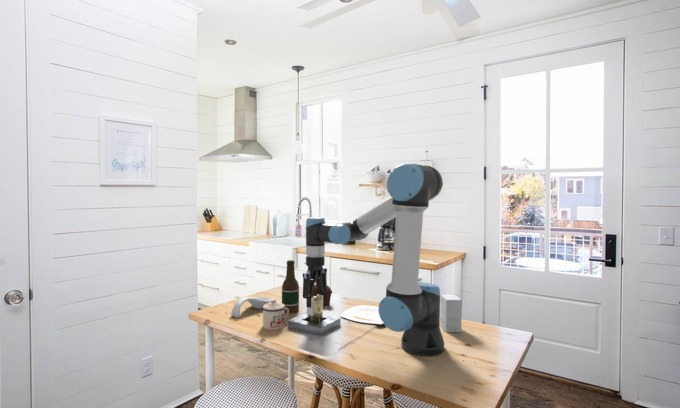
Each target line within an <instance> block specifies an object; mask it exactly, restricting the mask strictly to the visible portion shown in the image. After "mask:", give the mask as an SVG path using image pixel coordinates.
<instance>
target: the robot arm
mask: <svg viewBox="0 0 680 408" xmlns="http://www.w3.org/2000/svg"><path fill="white" fill-rule="evenodd" d="M443 184H444V183H443V177H442V175H441V173H440V172H439V170H437V169H436V167H433V166H431V165H423V164H416V163H403V164H400V165H397V166H395V167H393V170H391V171H390V172H389V175H388V177H387V181H386V189H387V192H388V194H389V196H390V197H388V198H387V199H385V200H384V201H382V202H381V203H379V204H377V205H376V206H374V207H372V208H371V209H369V210H368V211H367V212H365V213H363V214H362V215H360V216H358V217H357V218H356V219H354V220H353V221H350V222H349V221H348V222H337V223H329V222H328V223H326V221H325V218H324V217H322V216H321V217H320V216H319V217H317V216H313V217H307V218H306V221H305V255H306V257H305V265H306V266H307V272H303V273H302V283H303V284H302V298H303V299H306V312H307V315H311V316H313V299H312V296H313V290H314V285H317V290H318V294H317V296H318V297H321V298H323V295H326V293H325V292H327V286H328V284H327V283H328V282H327V272H328V268H326V267H324V265H325V261H326V260H325V258H326V257H325V254H326V250H325V249H326V248H325V243H328V244H335V245H345V244H347V243H348V242H351V241H361V240H364V239H366V238H367V237H369V234H370V233H371V232H373V231H375V230H376V229H379V228H380V227H381V226H383V225H385V224H386V223H388V222H390V221H391V220H394V219H395V224H394V227H395V228H394V239H393V240H394V241H393V254H392V255H393V256H392V267H391V268H392V271H391V281H390V282H389V283H388V284H387V285H386V289H385V297H383V298H382V299H381V300H380V301H379V304H378V307H379V308H378V311H379V316H380V318H381V320H382V321H383V322H384V324H383V325H384V326H385V327H386V328H388V329H389V330H391V331H393V332H396V333H401V332H403V334H402V337H401V339H400V345H401V348H402V349H403V350H404V351H406V352H407V353H409V354H412V355H418V356H425V357H426V356H430V357H431V356H437V355H439V354H442V353H444V351H445V340H444V337H443V334H442V330H441V326H440V308H441V295H442V294H441V289H440V287H439V285H436V284H434V283H430V282H424V281H423V282H422V281H419V275H420V274H419V273H420V258H421V246H422V232H423V230H422V229H423V219H424V212H425V211H426V210H427V209H429V205H430V204H429V203H430V202H429V201H431V200H433V199H435V198H436V197H437V196H438V195H440V193H441V191H442V188H443Z"/></svg>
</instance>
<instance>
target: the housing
mask: <svg viewBox="0 0 680 408" xmlns="http://www.w3.org/2000/svg"><path fill="white" fill-rule="evenodd" d="M340 326H341V317H337V316H334V315H333V316H332V315H329V314H323V321H321V322H319V323H312V322H308V315H307V311H306V312H303V313H302V314H299V315H297V316H295V317H293V318H291V319H288V320H287V328H288V329H292V330H295V331H298V332H303V333H305V334H310V335H315V336H318V337H322V336H324V335H325V334H328V333H329V332H331V331H333V330H335V329H336V328H338V327H340Z"/></svg>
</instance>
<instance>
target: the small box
mask: <svg viewBox="0 0 680 408" xmlns="http://www.w3.org/2000/svg"><path fill="white" fill-rule="evenodd" d="M440 295H441V297H440V328H442V329H443V330H444V332H445V333H462V315H463V314H462V308H463V307H462V301H463V300H462V299H461V298H460V297H459V296H457V295H456V294H440Z"/></svg>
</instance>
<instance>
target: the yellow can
mask: <svg viewBox="0 0 680 408" xmlns="http://www.w3.org/2000/svg"><path fill="white" fill-rule="evenodd" d="M312 299H313V316H311V315H308V322H312V323H319V322H321V321H323V312H324V307H323V298H321V297H318V296H313V297H312Z"/></svg>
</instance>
